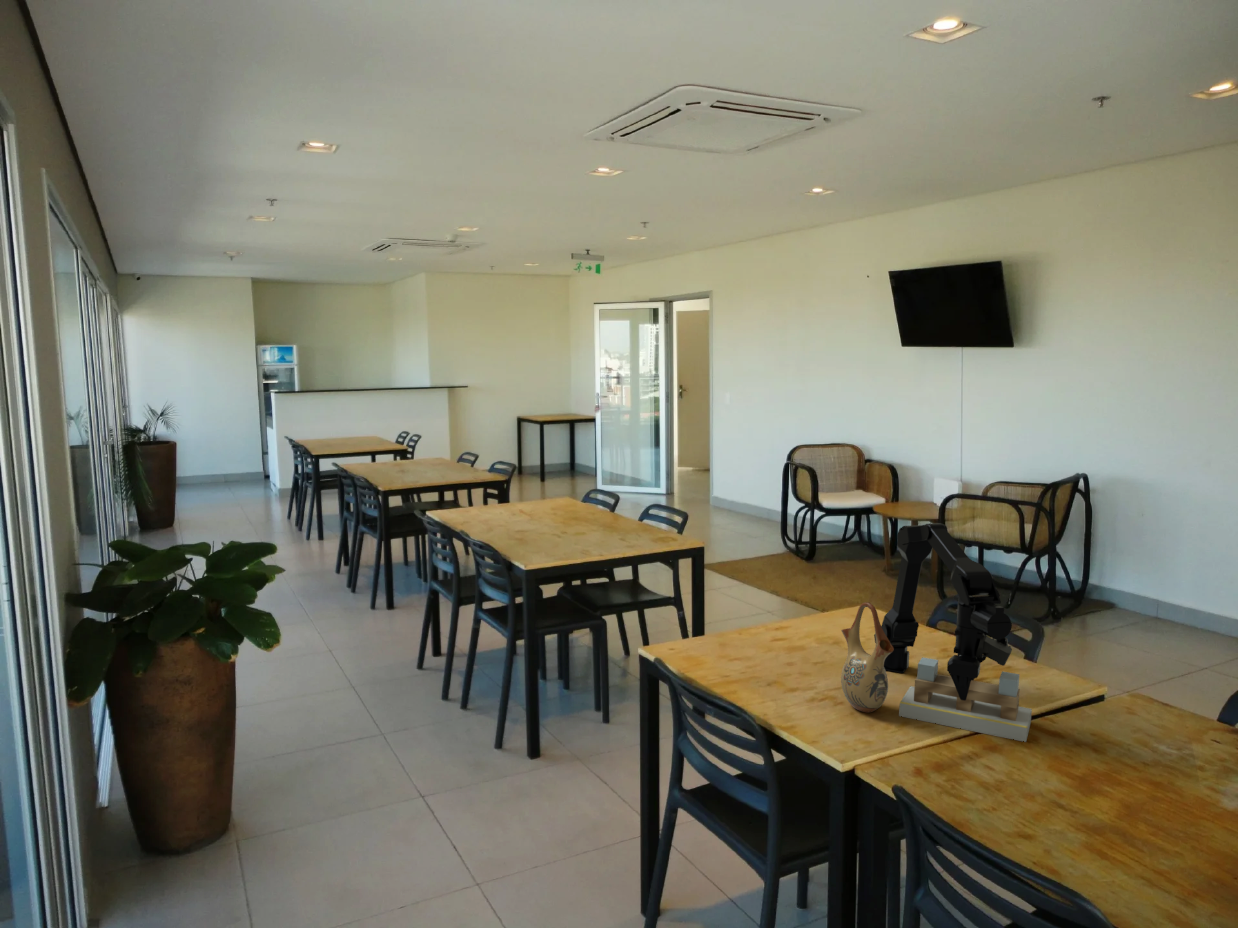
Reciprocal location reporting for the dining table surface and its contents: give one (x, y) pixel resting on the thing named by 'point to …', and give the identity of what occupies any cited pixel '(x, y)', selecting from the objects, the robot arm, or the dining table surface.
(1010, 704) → the pallet
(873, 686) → the ceramic vessel
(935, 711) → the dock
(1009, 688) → the block
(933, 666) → the grey small block
